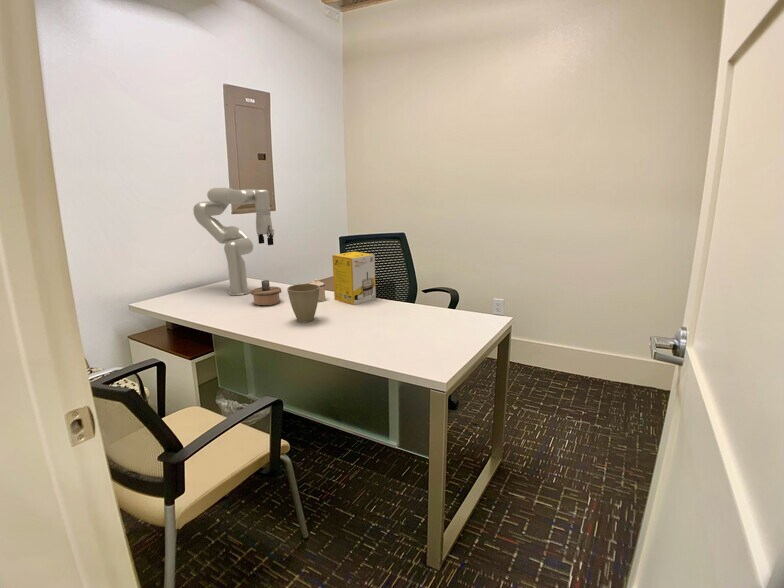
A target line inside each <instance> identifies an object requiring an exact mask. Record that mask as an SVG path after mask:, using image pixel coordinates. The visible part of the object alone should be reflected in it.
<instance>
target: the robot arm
mask: <svg viewBox="0 0 784 588" xmlns="http://www.w3.org/2000/svg"><path fill="white" fill-rule="evenodd" d="M206 195H207V199H208V200H209V201H208V200H207V201H201V202H197V203H196V204H195V205H194V206H193V209H192V210H193V215H194V218H195V220H196V221H197V223H198V224H199V225H200V226H201V227H203V228H204V229H205V230H206V231H207V232H208V234H210V235H211V236H212V237H213V238H214V239H215V240H216V241H217V242H218V243H219V244H222V245H224V247H223V251H224V254H225V257H226V262H227V268H228V276H229V277H228V278H229V288H230V290H229V291H228V293H227V294H228V296H229V295H230V296H234V295H237V296H245V295H249V294H251V290H252V289H249V288H248V279H247V271H246V270H247V269H246V262H245V260H244V258H243V256H245V255H249V254H250V253H252V252H253V250H254V245H253V242H252V240H251V238H249V237H248V236H247V235H246V234H245V233H244V232H243V231H242V230H241V229H240V228H239V227H238V226H232V225H231V226H230V225H229V226H225V225H223V224H222V223H221V222H220V221H219V219H216V218H215V216H221V215H222V214H223V213H224V212H225V210H226V209H227V208H228V206H229V205H230V204H231V205H232V204H233V205H249V204H252V205H253V204H254V207H255V214H256V216H255V230H256V234H257V238H258V244H259V245H261V244H265V236H264V235H266V236H267V237H266V238H267V239H266V240H267V246H274V235H275V229H274V228H273V223H272V218H271V206H270V202H271V201H270V193H269V190H267V189H255V188H254V189H252V188H250V189H234V188H232V187H213V188H210V189H209V190H208V191H207V194H206ZM213 216H214V217H213ZM244 294H245V295H244Z"/></svg>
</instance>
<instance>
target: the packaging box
mask: <svg viewBox="0 0 784 588" xmlns="http://www.w3.org/2000/svg"><path fill="white" fill-rule="evenodd" d="M331 258H332V259H331V260H332V274H333V275H332V278H333V294H334V295H333V296H334V301H337V300H338V302H341V303H345V304H348V305H352V306H355V305H359V304H363V303H366V302H370V301H373V300H376V299H377V297H376V295H377V294H376V293H377V292H376V290H377V289H376V256H375V253H367V252H361V251H360V252H359V251H350V252H344V253H337V254H332V255H331Z"/></svg>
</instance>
